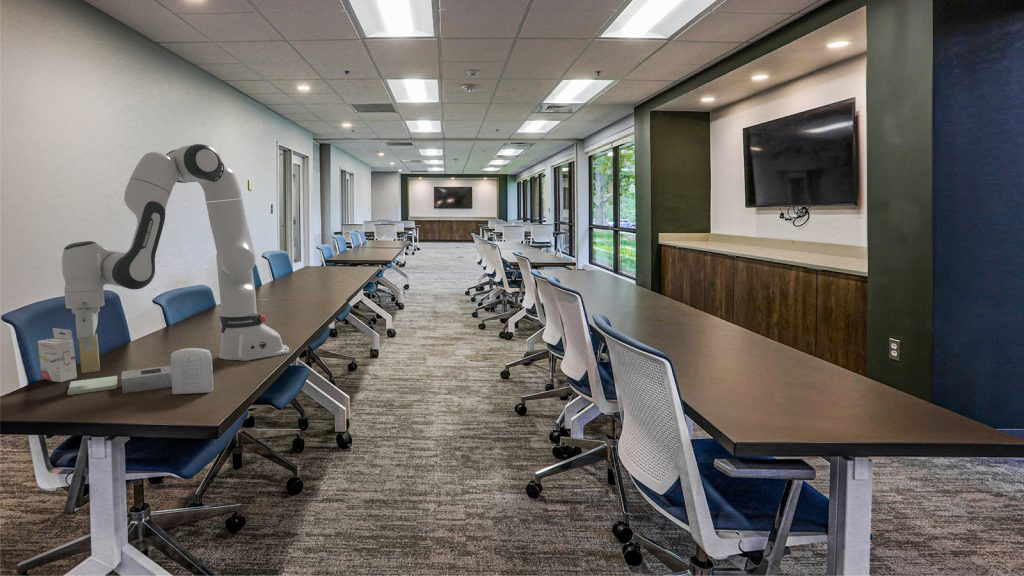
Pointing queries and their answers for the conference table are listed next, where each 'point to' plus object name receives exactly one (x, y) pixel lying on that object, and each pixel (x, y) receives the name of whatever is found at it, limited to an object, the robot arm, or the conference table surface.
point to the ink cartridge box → (58, 357)
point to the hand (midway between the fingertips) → (89, 349)
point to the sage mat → (92, 385)
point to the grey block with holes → (146, 379)
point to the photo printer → (191, 371)
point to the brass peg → (90, 356)
